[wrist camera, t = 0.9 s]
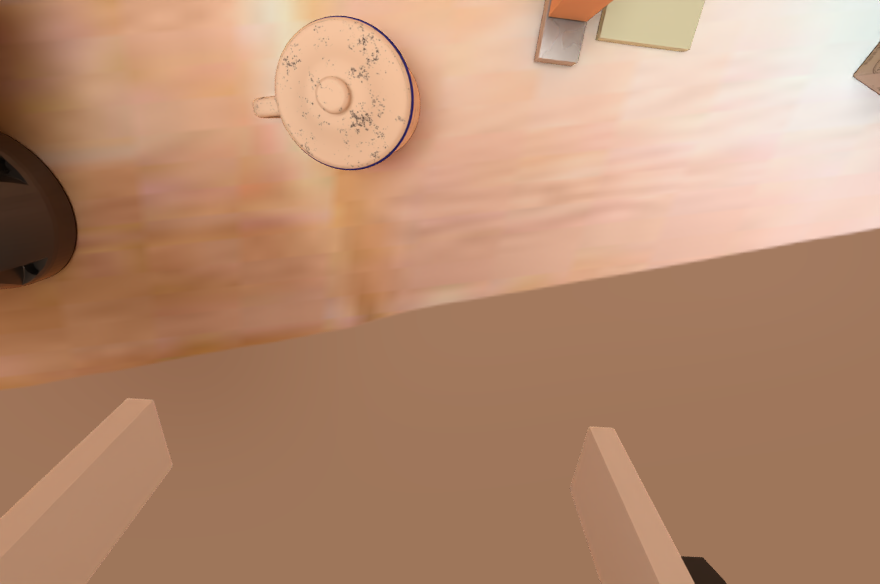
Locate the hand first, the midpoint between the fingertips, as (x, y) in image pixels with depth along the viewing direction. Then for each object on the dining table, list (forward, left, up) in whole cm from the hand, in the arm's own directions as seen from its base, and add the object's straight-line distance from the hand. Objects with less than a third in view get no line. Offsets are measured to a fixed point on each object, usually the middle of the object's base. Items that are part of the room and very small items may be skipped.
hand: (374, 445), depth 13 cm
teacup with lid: (-8, +10, -28) cm, 31 cm away
